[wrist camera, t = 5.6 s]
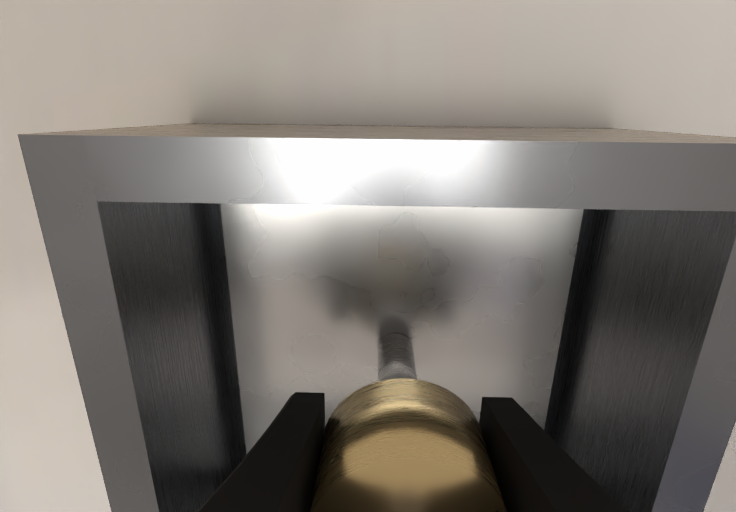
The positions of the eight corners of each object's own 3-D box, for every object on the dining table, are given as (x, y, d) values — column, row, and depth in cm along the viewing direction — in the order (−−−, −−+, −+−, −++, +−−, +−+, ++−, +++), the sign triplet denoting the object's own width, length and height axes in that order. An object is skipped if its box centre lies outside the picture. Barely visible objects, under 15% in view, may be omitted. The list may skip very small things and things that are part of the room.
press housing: (614, 128, 12) (834, 144, 6) (549, 465, 16) (647, 667, 10) (188, 123, 12) (18, 134, 6) (228, 457, 16) (146, 648, 10)
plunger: (576, 186, 11) (809, 274, 5) (528, 463, 14) (640, 724, 8) (226, 180, 11) (52, 260, 5) (253, 455, 14) (162, 705, 8)
